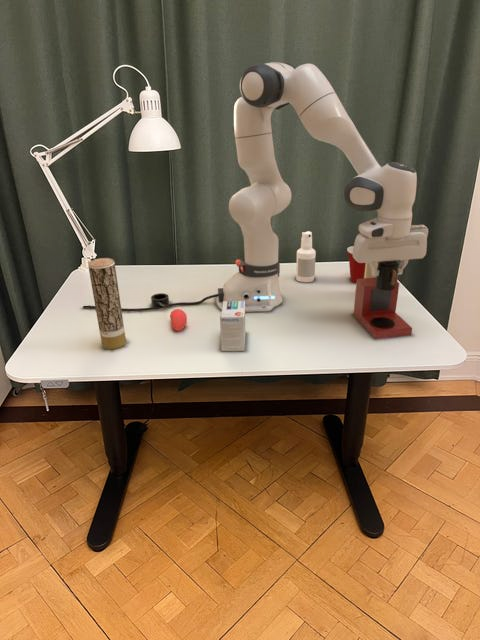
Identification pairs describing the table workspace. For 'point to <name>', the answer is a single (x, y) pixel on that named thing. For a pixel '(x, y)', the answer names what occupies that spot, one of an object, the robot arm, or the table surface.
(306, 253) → the spray bottle
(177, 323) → the red bean-shaped piece
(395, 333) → the warming base
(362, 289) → the coffee maker
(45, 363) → the table surface
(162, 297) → the duct tape
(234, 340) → the light bulb box
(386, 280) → the kettle
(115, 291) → the paper tube
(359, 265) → the plastic cup
